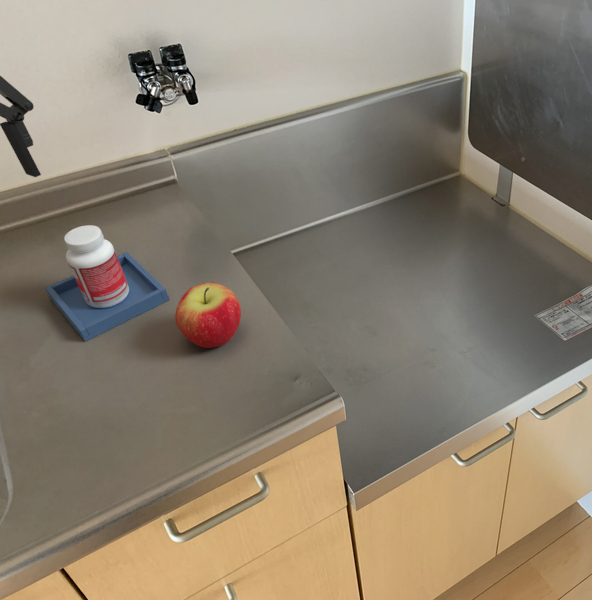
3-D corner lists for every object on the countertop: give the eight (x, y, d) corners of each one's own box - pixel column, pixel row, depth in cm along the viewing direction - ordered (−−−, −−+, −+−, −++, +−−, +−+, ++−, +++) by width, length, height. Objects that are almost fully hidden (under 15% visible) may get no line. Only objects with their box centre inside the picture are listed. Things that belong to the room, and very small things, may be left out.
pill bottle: (138, 287, 92) (116, 226, 84) (111, 313, 87) (85, 251, 80) (104, 279, 93) (79, 218, 86) (76, 304, 89) (47, 242, 81)
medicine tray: (85, 341, 84) (79, 330, 82) (50, 298, 91) (44, 287, 89) (169, 299, 90) (165, 289, 89) (130, 262, 97) (126, 251, 96)
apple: (209, 369, 80) (192, 313, 73) (171, 339, 84) (152, 284, 78) (258, 335, 85) (246, 280, 78) (220, 309, 89) (206, 254, 82)
